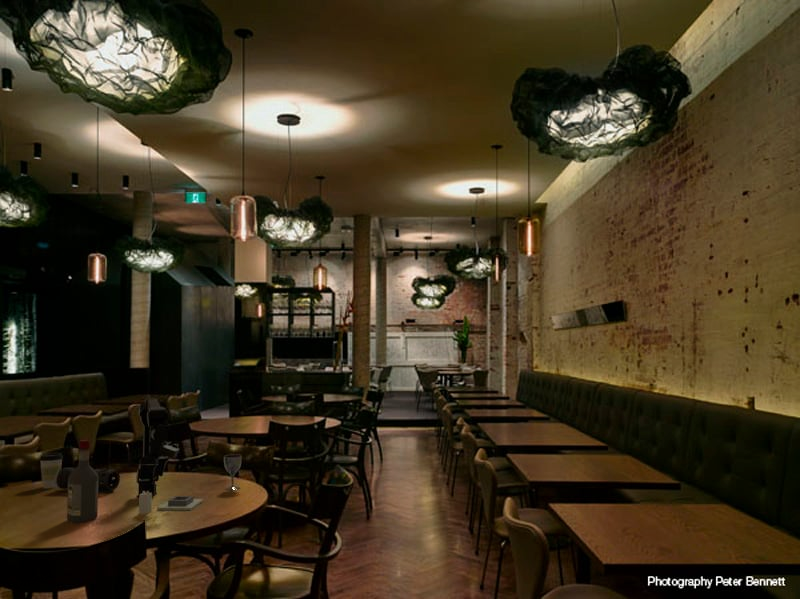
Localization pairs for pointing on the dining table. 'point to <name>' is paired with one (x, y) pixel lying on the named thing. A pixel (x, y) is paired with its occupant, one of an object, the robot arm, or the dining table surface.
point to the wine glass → (232, 467)
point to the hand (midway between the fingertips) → (156, 478)
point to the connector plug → (145, 503)
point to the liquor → (82, 489)
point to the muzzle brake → (103, 479)
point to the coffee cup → (50, 468)
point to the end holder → (180, 503)
